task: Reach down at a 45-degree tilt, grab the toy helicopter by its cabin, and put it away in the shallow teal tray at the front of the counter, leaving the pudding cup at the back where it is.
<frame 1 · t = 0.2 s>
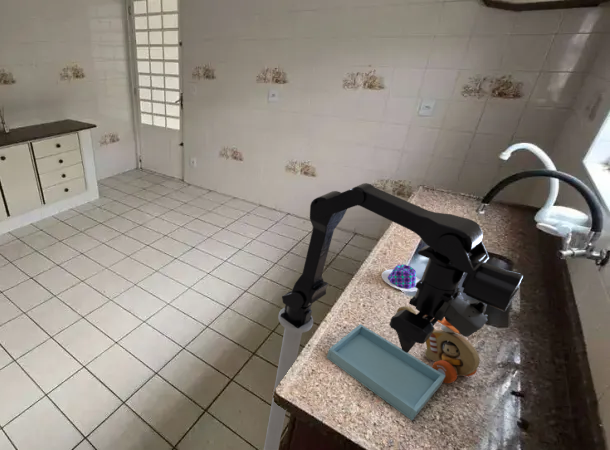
hand: (415, 341, 74), 15 cm above the worktop, tool pointing down, fingers open, 9 cm apart
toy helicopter: (428, 356, 89), on the worktop
teal tray: (381, 370, 85), on the worktop
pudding: (401, 282, 116), on the worktop
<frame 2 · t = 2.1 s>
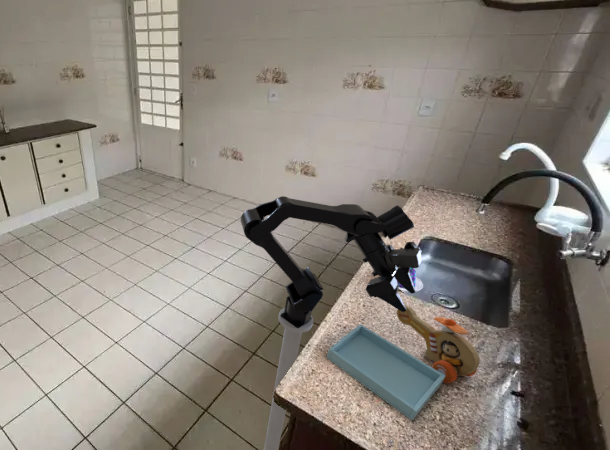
hand: (409, 301, 87), 13 cm above the worktop, tool tilted 45°, fingers open, 9 cm apart
nothing on the worktop moved.
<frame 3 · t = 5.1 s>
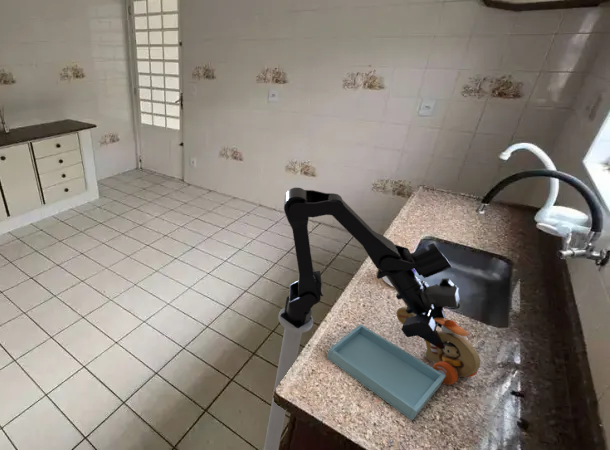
hand: (445, 339, 85), 7 cm above the worktop, tool tilted 45°, fingers closed on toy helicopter, 7 cm apart
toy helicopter: (429, 357, 89), on the worktop, touching gripper
everything else where it was.
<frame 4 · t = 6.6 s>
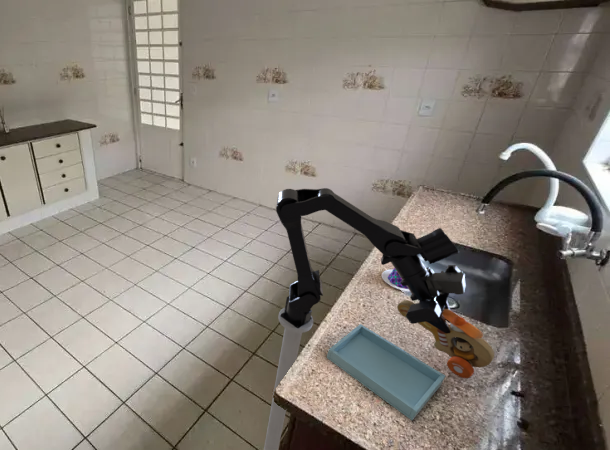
hand: (450, 327, 83), 11 cm above the worktop, tool tilted 45°, fingers closed on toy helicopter, 4 cm apart
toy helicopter: (437, 346, 88), point 3 cm above the worktop, touching gripper
everything else where it was.
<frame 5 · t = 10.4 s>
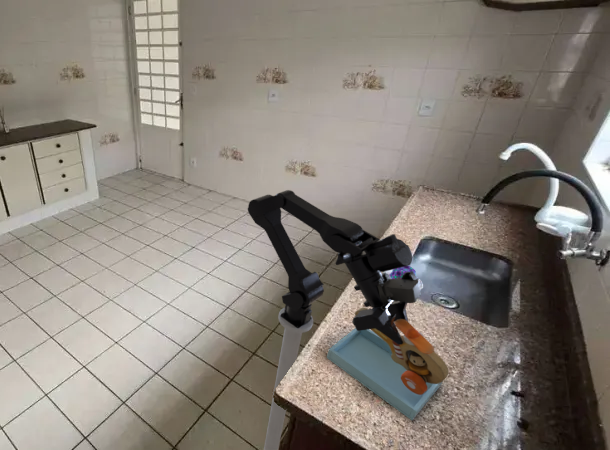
hand: (404, 339, 77), 13 cm above the worktop, tool tilted 45°, fingers closed on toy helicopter, 4 cm apart
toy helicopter: (395, 358, 82), point 5 cm above the worktop, touching gripper
everything else where it was.
when the fingers open (11 cm above the worktop, at t = 11.4 s): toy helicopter drops 3 cm, resting on teal tray.
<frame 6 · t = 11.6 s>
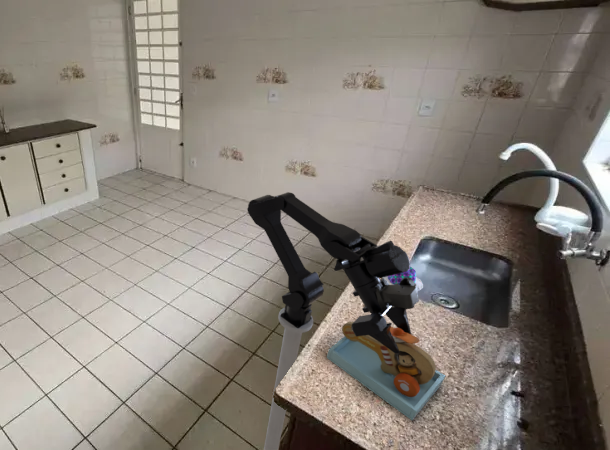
hand: (403, 344, 77), 12 cm above the worktop, tool tilted 45°, fingers open, 7 cm apart
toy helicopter: (384, 370, 85), resting on teal tray, touching gripper
everything else where it was.
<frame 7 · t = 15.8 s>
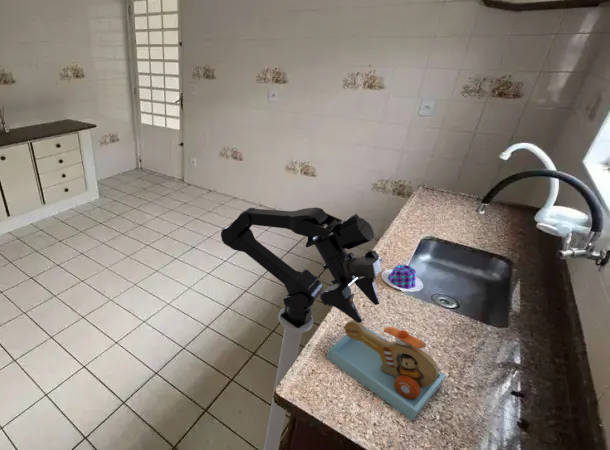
hand: (369, 313, 83), 14 cm above the worktop, tool tilted 45°, fingers open, 9 cm apart
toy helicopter: (384, 370, 85), resting on teal tray
everything else where it was.
at the end: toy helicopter inside the target area in the teal tray (0.6 cm from its centre), point 0.4 cm above the teal tray's base; the gripper is holding nothing; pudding moved 0.2 cm from its start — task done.
